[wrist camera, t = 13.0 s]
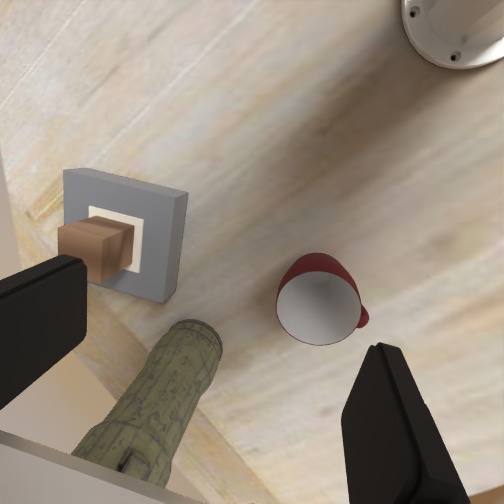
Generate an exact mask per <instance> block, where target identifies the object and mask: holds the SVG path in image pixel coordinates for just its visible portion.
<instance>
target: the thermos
mask: <svg viewBox="0 0 504 504" xmlns="http://www.w3.org/2000/svg"><path fill="white" fill-rule="evenodd" d="M222 352H223V349H222V342H221V340H220V337H219V335H218V334H217V333H216V332H215V331H214V329H213V328H211V327H210V326H209V325H207V324H206V323H203V322H201V321H198V320H190V319H187V320H183V321H179V322H178V323H176V324H175V325H173V326H172V327H171V329H170V330H169V332H168V333H166V334H165V335H164V336H163V337H162V338H161V340H160V341H159V342H158V343H157V345H156V346H155V347H154V349H153V350H152V352H151V353H150V355H149V357H148V360H147V362H146V364H145V367H144V368H143V370H142V371H141V372H140V374H139V375H138V376H137V377H136V379H135V380H134V381H133V383H132V384H131V385H130V387H129V388H128V389H127V391H126V392H125V393H124V394H123V396H122V397H121V398H120V400H119V401H118V402H117V404H116V405H115V406H114V407H113V409H112V410H111V411H110V413H109V414H108V415H107V417H106V418H105V419H104V421H103V422H101V423H99V424H98V425H96V426H94V427H93V428H91V429H90V430H89V432H88V433H87V434H86V436H85V437H84V438H83V439H82V441H81V442H80V443H79V444H78V446H77V447H76V448H75V450H74V451H73V452H72V453H71V455H72V456H75V457H78V458H81V459H84V460H86V461H89V462H92V463H95V464H98V465H100V466H103V467H106V468H109V469H112V470H114V471H117V472H120V473H123V474H126V475H128V476H131V477H134V478H137V479H140V480H142V481H145V482H148V483H151V484H154V485H156V486H159V487H162V488H165V487H166V485H167V482H168V480H169V477H170V473H171V462H172V459H173V457H174V454H175V452H176V450H177V448H178V446H179V443H180V441H181V439H182V437H183V434H184V432H185V430H186V428H187V425H188V423H189V421H190V419H191V417H192V414H193V412H194V410H195V408H196V405H197V403H198V401H199V399H200V396H201V395H202V394H203V393H204V392H205V391H206V390H207V388H208V387H209V386H210V384H211V382H212V380H213V377H214V375H215V373H216V370H217V367H218V363H219V361H220V358H221V355H222Z"/></svg>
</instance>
